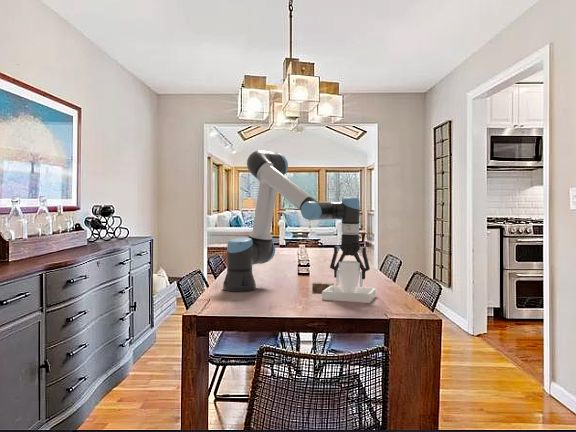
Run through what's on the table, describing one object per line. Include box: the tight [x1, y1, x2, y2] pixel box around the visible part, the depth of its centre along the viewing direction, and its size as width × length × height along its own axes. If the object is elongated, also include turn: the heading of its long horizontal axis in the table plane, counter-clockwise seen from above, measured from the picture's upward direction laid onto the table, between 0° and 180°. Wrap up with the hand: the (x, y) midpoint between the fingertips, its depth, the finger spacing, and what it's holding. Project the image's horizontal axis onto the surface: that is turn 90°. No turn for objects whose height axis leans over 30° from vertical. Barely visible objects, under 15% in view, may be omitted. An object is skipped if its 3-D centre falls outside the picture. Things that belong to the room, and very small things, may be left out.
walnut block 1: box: [311, 281, 323, 293], centre depth 236 cm, size 4×4×4 cm
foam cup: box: [338, 260, 361, 293], centre depth 221 cm, size 10×9×13 cm
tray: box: [321, 284, 377, 304], centre depth 221 cm, size 20×16×4 cm
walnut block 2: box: [322, 282, 335, 291], centre depth 234 cm, size 4×4×4 cm
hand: (349, 286), depth 221 cm, fingers closed on foam cup, 9 cm apart
